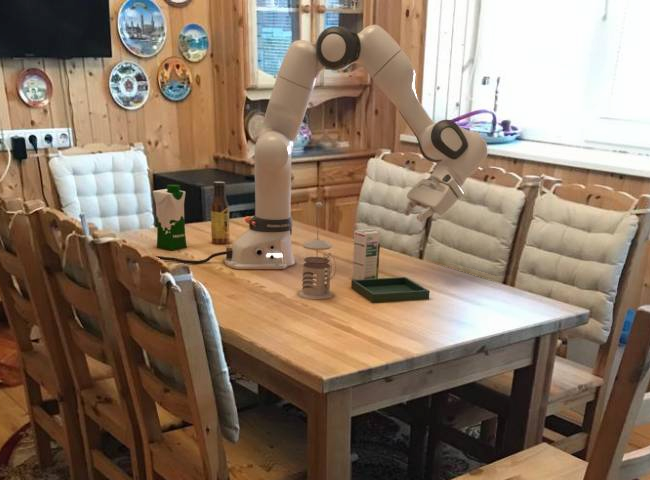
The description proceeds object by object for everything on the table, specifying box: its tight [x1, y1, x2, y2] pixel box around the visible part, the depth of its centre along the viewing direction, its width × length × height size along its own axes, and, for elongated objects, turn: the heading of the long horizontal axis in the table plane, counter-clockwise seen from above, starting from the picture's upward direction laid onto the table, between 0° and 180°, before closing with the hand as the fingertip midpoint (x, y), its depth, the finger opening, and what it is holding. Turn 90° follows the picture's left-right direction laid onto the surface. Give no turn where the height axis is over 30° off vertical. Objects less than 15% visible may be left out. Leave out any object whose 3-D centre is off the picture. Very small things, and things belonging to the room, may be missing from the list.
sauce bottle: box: [210, 180, 231, 245], centre depth 279 cm, size 7×6×20 cm
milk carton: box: [152, 183, 188, 251], centre depth 270 cm, size 9×9×20 cm
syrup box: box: [352, 228, 382, 280], centre depth 245 cm, size 6×6×14 cm
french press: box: [298, 201, 337, 300], centre depth 225 cm, size 10×12×25 cm
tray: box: [350, 276, 431, 304], centre depth 235 cm, size 18×16×2 cm
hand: (411, 217), depth 244 cm, fingers open, 8 cm apart
